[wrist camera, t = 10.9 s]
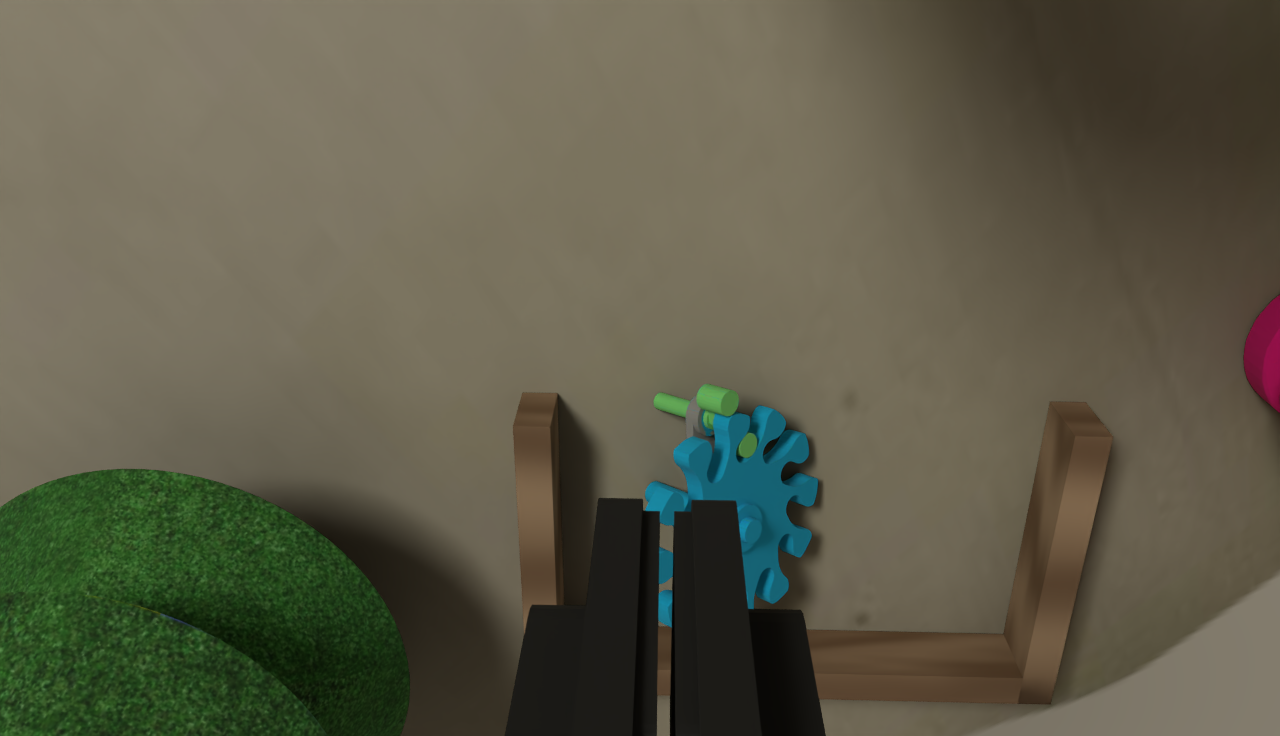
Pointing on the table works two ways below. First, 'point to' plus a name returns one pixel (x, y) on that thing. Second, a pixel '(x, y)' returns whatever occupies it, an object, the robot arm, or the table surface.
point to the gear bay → (875, 658)
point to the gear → (737, 485)
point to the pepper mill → (1265, 354)
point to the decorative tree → (186, 616)
